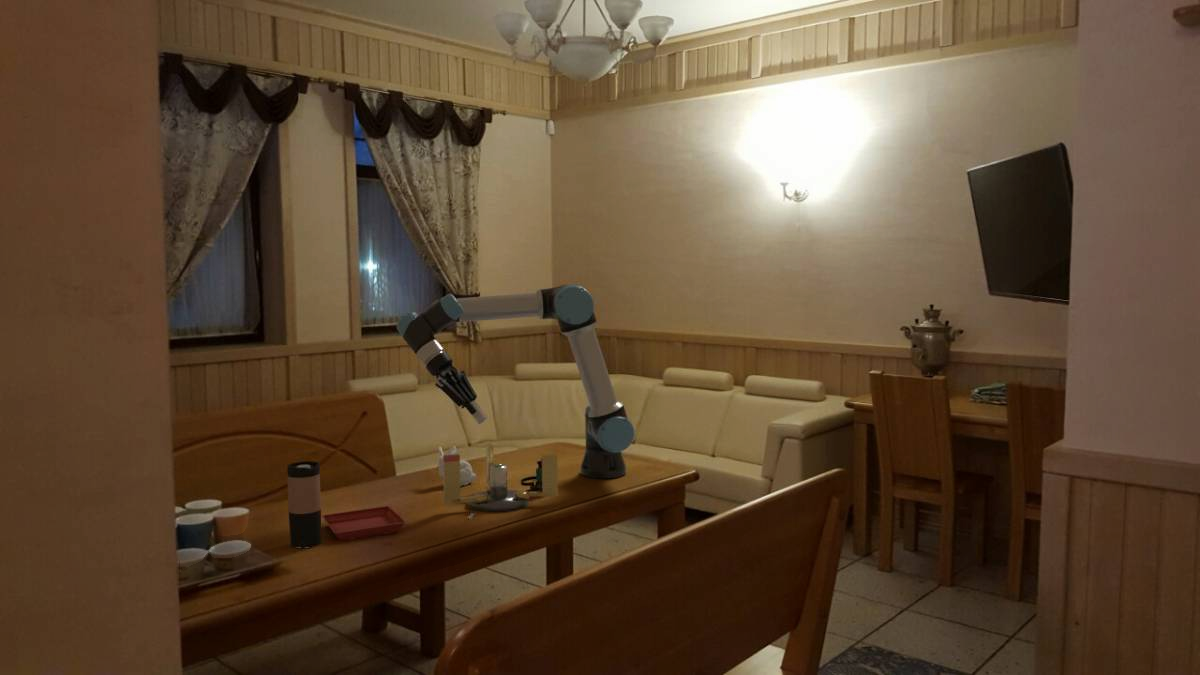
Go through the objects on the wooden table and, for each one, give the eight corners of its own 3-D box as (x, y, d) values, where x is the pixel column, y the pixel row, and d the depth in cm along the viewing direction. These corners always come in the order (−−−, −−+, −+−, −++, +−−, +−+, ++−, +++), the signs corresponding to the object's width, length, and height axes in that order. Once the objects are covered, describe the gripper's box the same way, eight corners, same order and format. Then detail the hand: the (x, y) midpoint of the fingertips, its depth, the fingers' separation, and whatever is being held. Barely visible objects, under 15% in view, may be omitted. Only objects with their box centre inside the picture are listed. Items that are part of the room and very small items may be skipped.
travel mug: (294, 539, 220) (291, 461, 219) (325, 538, 221) (322, 460, 219) (286, 549, 212) (283, 468, 211) (318, 548, 213) (315, 467, 212)
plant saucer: (334, 545, 217) (334, 532, 217) (321, 526, 233) (321, 514, 233) (406, 534, 225) (406, 521, 225) (389, 517, 241) (389, 505, 241)
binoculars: (522, 457, 270) (553, 455, 268) (526, 491, 271) (557, 489, 269) (514, 463, 262) (546, 461, 260) (518, 498, 262) (550, 496, 260)
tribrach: (570, 494, 263) (569, 447, 261) (533, 524, 232) (532, 470, 231) (488, 489, 270) (487, 443, 269) (442, 517, 239) (441, 465, 238)
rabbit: (440, 489, 271) (439, 451, 270) (434, 482, 280) (433, 445, 279) (478, 485, 276) (478, 447, 275) (471, 478, 284) (470, 442, 283)
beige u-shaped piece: (486, 498, 250) (485, 451, 249) (488, 502, 246) (488, 454, 245) (443, 502, 246) (442, 454, 245) (445, 506, 242) (444, 457, 241)
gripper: (440, 362, 266) (487, 422, 263) (414, 370, 254) (463, 434, 251) (455, 347, 263) (502, 408, 259) (429, 355, 251) (479, 419, 248)
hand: (483, 421), depth 255 cm, fingers closed
